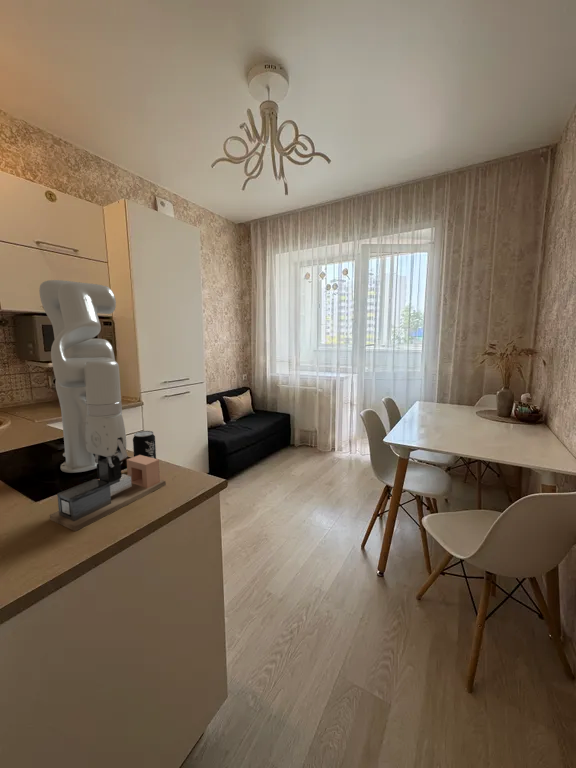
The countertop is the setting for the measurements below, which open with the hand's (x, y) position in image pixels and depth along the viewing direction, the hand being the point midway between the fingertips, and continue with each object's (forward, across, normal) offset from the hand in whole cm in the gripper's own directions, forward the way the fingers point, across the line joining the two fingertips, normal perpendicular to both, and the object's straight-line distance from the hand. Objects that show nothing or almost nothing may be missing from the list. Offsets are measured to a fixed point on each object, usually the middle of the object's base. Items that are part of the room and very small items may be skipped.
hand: (109, 477), depth 83 cm
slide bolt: (+4, 0, -3) cm, 5 cm away
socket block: (+5, 0, +10) cm, 12 cm away
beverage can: (+7, -10, +19) cm, 23 cm away
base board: (+7, 0, +1) cm, 7 cm away
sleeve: (+5, 0, -7) cm, 8 cm away
